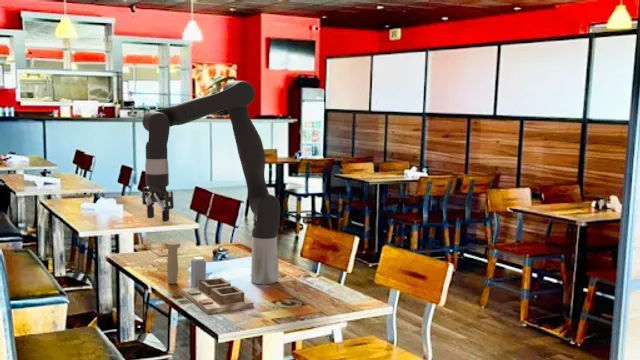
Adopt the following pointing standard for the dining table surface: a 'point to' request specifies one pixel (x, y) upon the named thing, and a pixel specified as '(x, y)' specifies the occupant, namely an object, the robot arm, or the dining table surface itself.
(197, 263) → the plug
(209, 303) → the socket board
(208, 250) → the dining table surface
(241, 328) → the dining table surface
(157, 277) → the dining table surface
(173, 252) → the handle
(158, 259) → the dining table surface
